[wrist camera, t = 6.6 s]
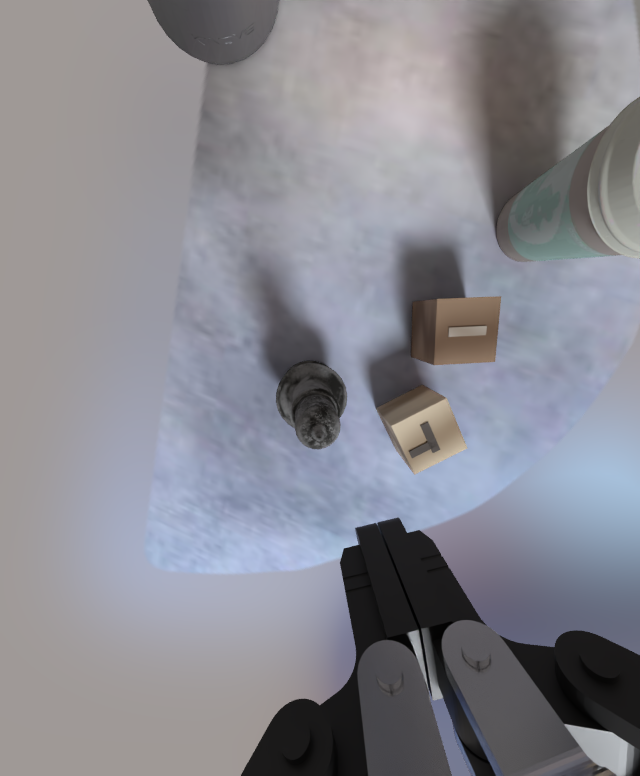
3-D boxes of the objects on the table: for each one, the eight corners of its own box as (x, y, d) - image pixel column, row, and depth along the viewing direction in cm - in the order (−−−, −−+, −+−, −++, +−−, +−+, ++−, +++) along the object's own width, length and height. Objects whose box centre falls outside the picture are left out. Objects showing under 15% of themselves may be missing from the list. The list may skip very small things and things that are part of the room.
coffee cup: (523, 149, 26) (715, 10, 14) (592, 212, 27) (815, 135, 16) (461, 241, 27) (589, 186, 15) (530, 296, 28) (694, 284, 17)
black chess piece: (267, 402, 29) (249, 462, 17) (295, 346, 28) (295, 368, 16) (323, 427, 30) (342, 500, 18) (351, 374, 29) (390, 414, 17)
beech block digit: (375, 408, 30) (391, 426, 25) (421, 384, 30) (447, 398, 25) (395, 449, 31) (414, 475, 26) (440, 427, 31) (468, 448, 26)
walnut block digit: (412, 301, 28) (437, 298, 23) (465, 299, 28) (501, 296, 23) (410, 356, 29) (434, 365, 24) (461, 354, 29) (495, 362, 24)
